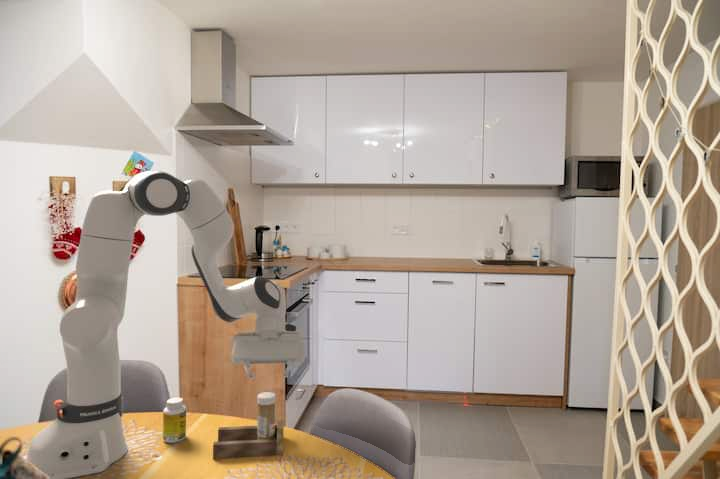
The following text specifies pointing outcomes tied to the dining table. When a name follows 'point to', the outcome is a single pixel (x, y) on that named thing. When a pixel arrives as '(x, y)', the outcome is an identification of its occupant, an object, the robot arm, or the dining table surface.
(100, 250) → the robot arm
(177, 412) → the supplement bottle
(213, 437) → the dining table surface
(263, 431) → the spice jar
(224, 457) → the guide rail
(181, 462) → the dining table surface
